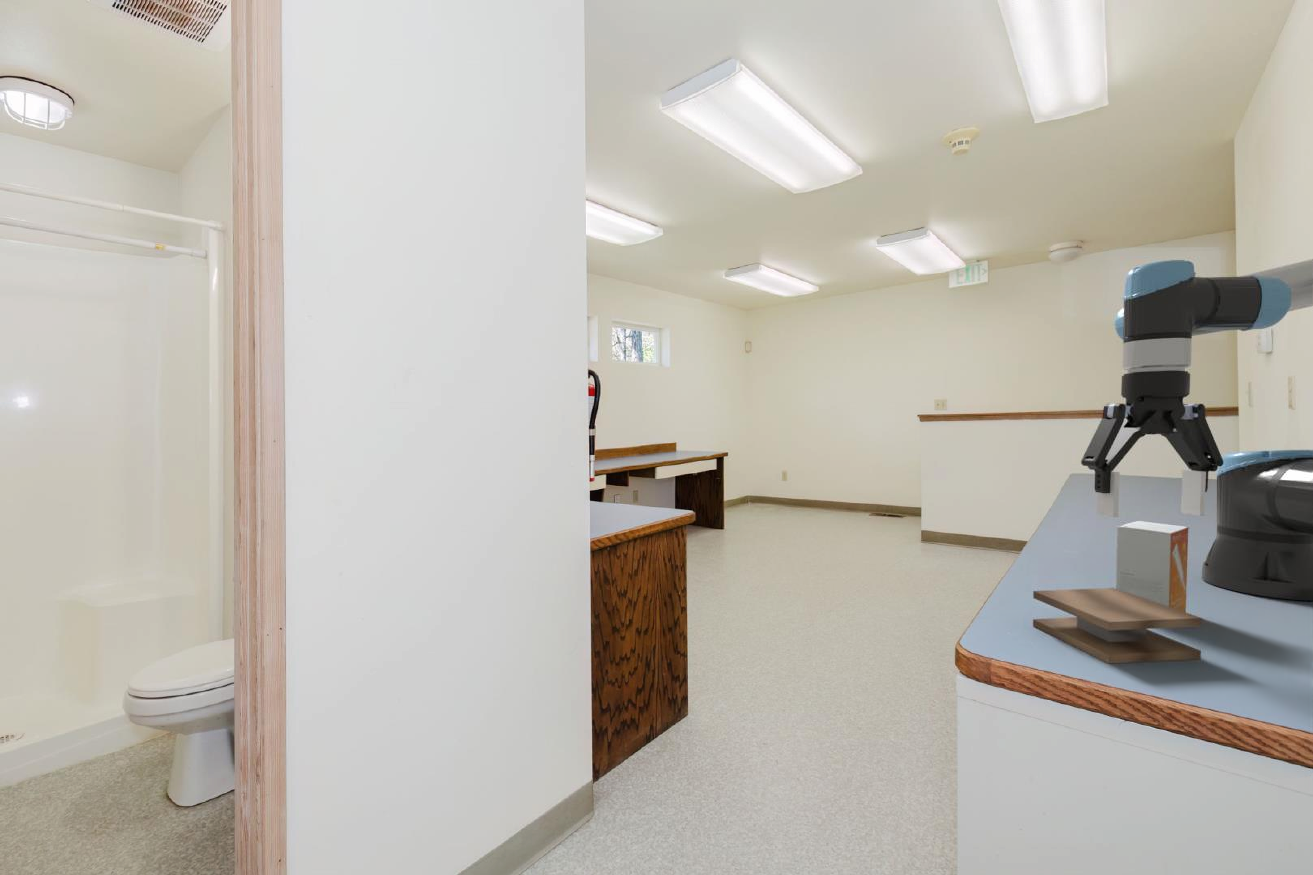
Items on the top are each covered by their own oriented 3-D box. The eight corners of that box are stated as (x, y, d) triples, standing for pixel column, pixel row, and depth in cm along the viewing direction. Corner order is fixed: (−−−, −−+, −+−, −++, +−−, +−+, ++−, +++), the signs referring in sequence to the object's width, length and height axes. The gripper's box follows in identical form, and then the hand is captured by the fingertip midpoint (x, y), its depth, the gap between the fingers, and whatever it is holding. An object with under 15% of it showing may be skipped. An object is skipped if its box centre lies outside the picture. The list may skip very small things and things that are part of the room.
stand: (1112, 622, 80) (1113, 587, 80) (1200, 658, 68) (1201, 617, 68) (1032, 626, 79) (1033, 590, 79) (1108, 663, 67) (1109, 622, 67)
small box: (1169, 625, 79) (1171, 532, 78) (1113, 612, 84) (1115, 525, 83) (1187, 613, 83) (1189, 526, 83) (1133, 601, 88) (1135, 519, 88)
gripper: (1206, 373, 87) (1201, 509, 88) (1055, 372, 85) (1051, 511, 86) (1262, 369, 79) (1255, 518, 80) (1097, 368, 77) (1093, 520, 78)
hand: (1150, 515), depth 83 cm, fingers open, 13 cm apart
